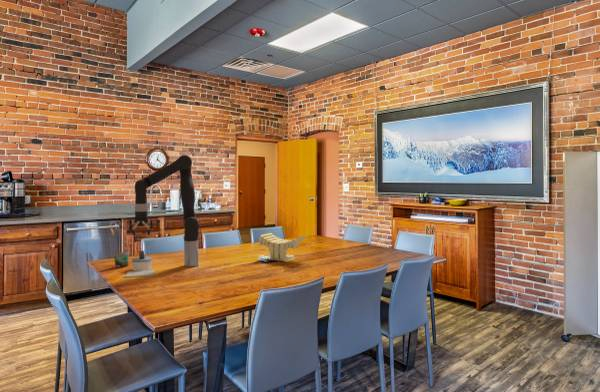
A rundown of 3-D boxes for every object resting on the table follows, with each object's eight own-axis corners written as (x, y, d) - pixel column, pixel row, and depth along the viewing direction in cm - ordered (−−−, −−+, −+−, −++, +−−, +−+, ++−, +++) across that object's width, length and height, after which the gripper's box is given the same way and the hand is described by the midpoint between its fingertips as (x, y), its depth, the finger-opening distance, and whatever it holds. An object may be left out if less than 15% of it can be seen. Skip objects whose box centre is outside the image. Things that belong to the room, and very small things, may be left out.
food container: (122, 268, 241) (121, 253, 241) (113, 268, 243) (113, 253, 242) (134, 264, 253) (133, 250, 253) (126, 264, 255) (125, 249, 254)
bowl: (152, 266, 247) (152, 257, 247) (149, 270, 237) (149, 261, 236) (134, 267, 245) (134, 258, 244) (131, 271, 234) (131, 262, 234)
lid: (153, 257, 248) (153, 248, 248) (150, 261, 236) (150, 252, 236) (133, 258, 245) (133, 249, 244) (129, 262, 233) (129, 253, 232)
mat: (155, 270, 236) (155, 269, 236) (152, 275, 225) (152, 274, 225) (128, 272, 232) (128, 271, 232) (124, 277, 221) (124, 276, 220)
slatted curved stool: (259, 259, 270) (259, 235, 269) (271, 255, 284) (271, 232, 283) (294, 264, 255) (294, 238, 254) (305, 259, 269) (305, 235, 268)
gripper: (153, 209, 244) (153, 234, 245) (130, 210, 241) (130, 234, 241) (152, 210, 237) (152, 235, 238) (128, 211, 233) (128, 236, 234)
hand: (141, 235), depth 239 cm, fingers open, 8 cm apart
